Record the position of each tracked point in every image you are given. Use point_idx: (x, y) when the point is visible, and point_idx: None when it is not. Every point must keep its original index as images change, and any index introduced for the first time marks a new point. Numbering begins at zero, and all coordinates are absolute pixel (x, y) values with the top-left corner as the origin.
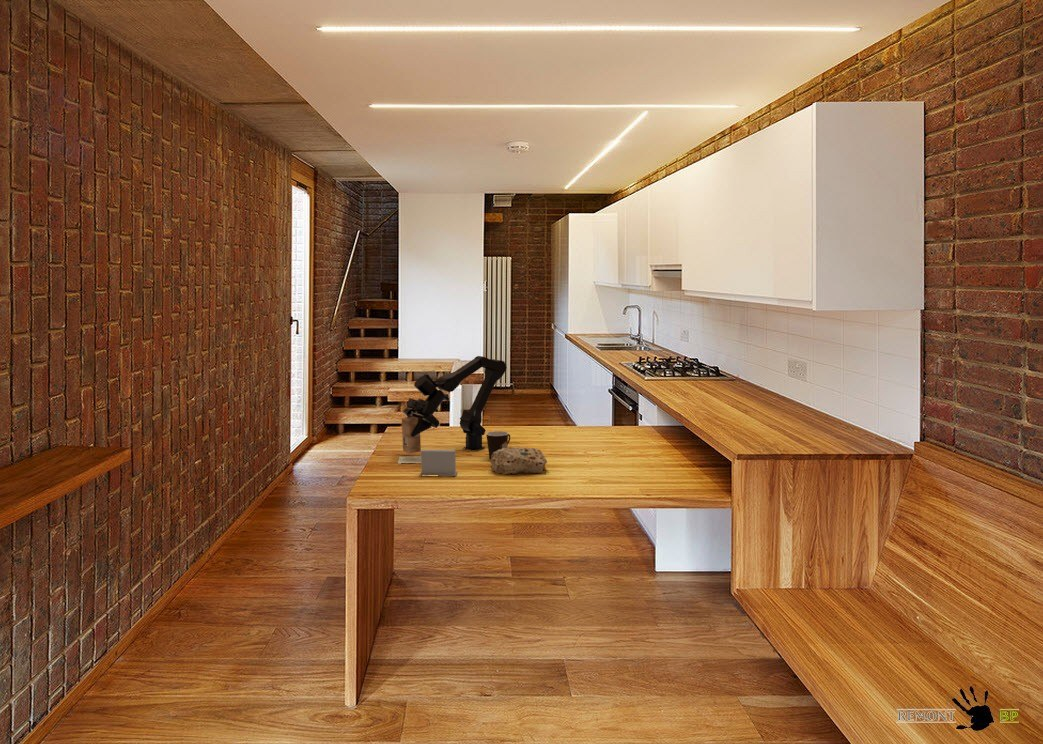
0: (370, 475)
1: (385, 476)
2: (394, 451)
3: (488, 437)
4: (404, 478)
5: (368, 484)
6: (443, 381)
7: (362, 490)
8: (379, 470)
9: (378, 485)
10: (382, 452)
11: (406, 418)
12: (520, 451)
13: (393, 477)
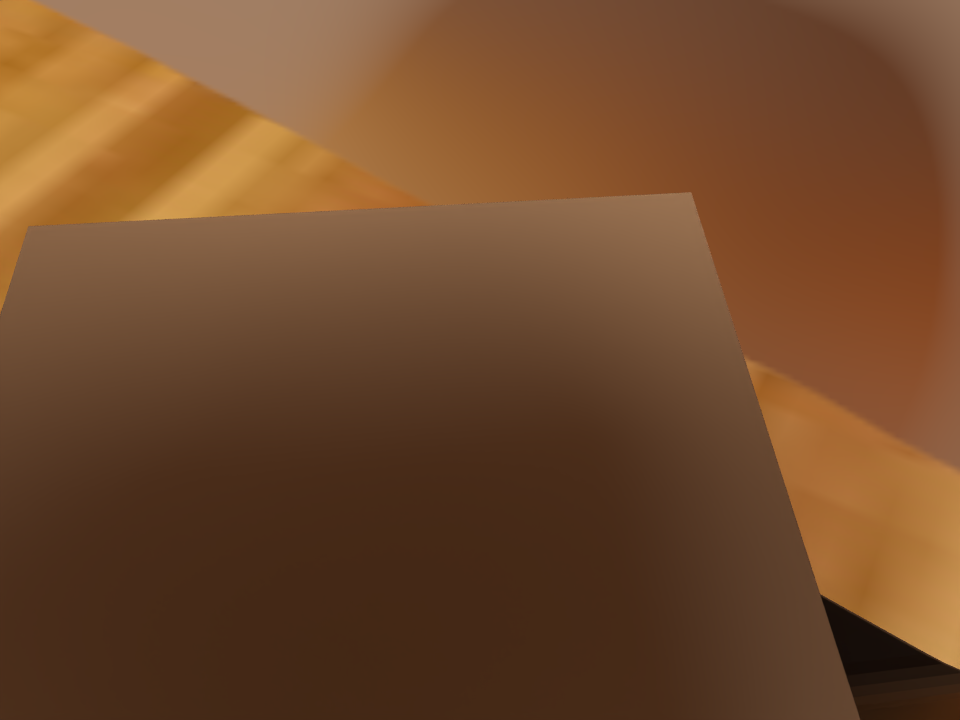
0: (257, 124)
1: (161, 179)
2: (875, 542)
3: None
4: (5, 253)
5: (91, 57)
6: None
7: (19, 4)
8: (329, 204)
9: (22, 85)
10: (869, 428)
11: (500, 337)
12: None
13: (94, 208)
